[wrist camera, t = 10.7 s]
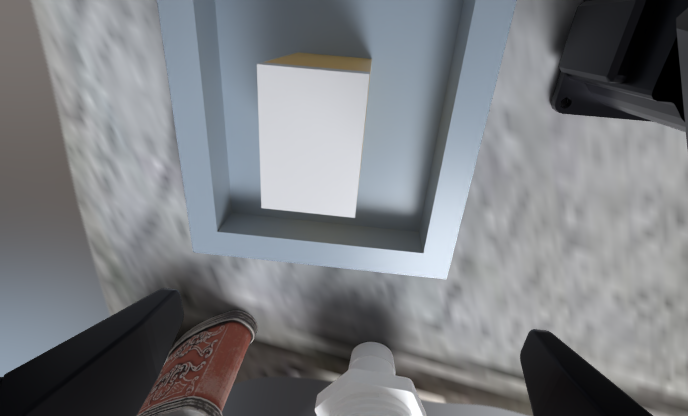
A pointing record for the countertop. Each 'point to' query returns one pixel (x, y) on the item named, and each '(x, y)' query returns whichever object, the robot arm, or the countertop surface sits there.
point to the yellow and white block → (312, 132)
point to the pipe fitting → (370, 387)
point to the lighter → (202, 367)
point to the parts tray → (380, 126)
